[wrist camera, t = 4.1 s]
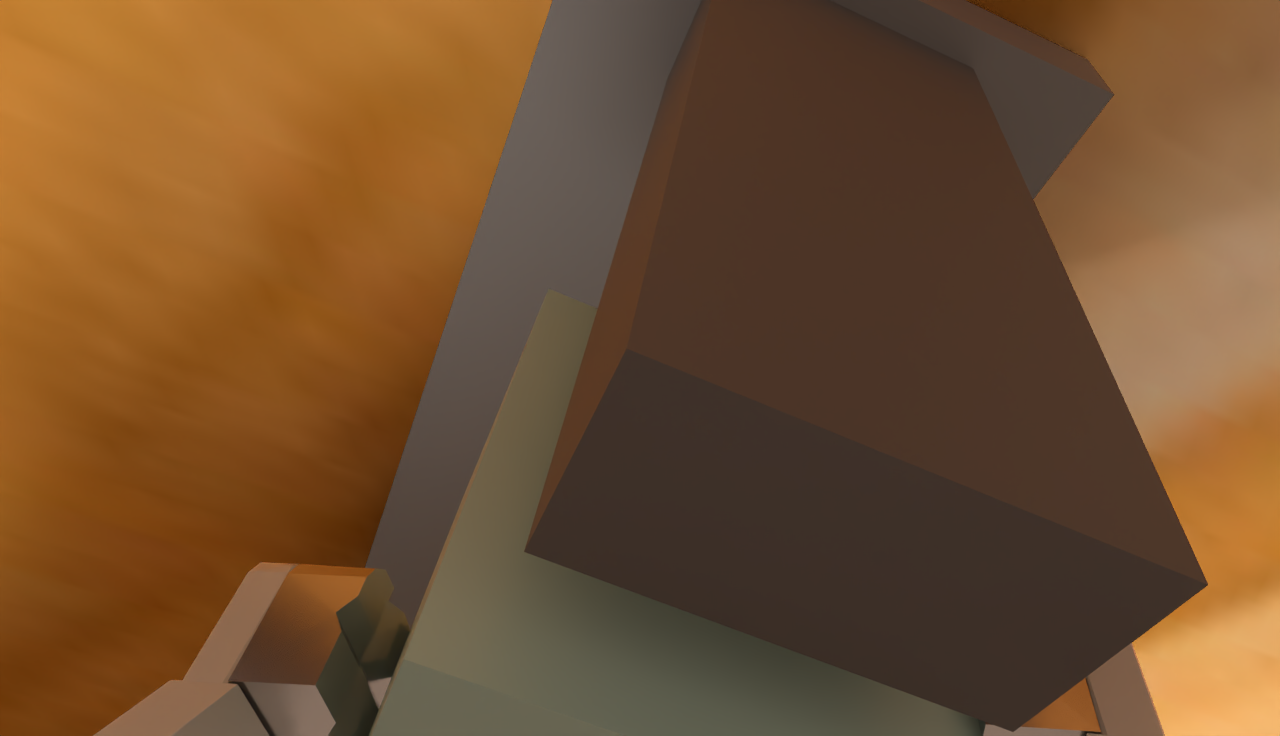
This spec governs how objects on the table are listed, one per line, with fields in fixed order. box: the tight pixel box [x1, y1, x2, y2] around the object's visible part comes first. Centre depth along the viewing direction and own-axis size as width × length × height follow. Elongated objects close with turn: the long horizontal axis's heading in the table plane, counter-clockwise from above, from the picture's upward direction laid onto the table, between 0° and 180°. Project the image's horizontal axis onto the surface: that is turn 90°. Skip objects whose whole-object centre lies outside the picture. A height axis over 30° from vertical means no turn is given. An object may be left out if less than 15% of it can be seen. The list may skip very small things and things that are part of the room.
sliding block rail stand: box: [365, 0, 1208, 732], centre depth 16 cm, size 22×8×11 cm, turn 158°
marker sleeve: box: [369, 289, 981, 736], centre depth 10 cm, size 4×5×5 cm
